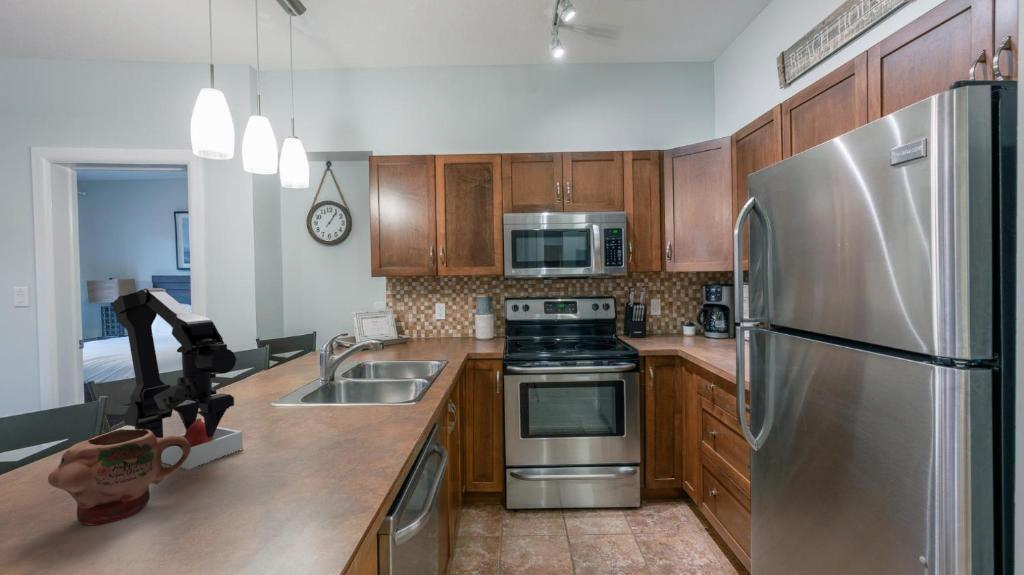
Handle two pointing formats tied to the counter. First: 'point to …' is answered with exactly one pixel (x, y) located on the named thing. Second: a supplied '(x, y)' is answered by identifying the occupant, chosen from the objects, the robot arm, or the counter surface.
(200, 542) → the counter surface
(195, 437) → the onion
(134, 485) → the tan novelty mug
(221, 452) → the bin
